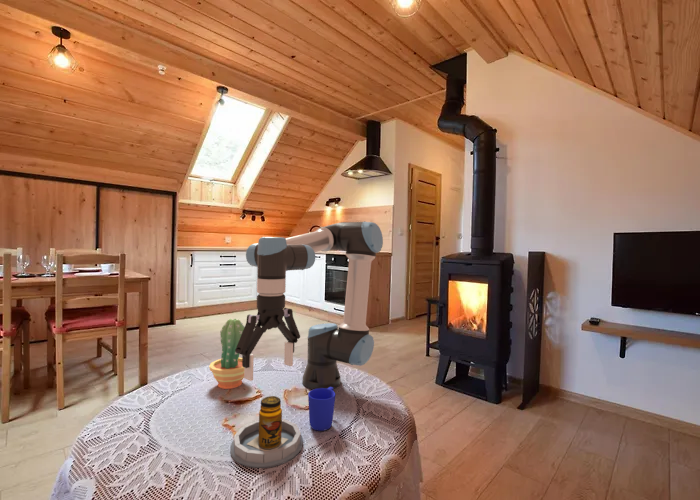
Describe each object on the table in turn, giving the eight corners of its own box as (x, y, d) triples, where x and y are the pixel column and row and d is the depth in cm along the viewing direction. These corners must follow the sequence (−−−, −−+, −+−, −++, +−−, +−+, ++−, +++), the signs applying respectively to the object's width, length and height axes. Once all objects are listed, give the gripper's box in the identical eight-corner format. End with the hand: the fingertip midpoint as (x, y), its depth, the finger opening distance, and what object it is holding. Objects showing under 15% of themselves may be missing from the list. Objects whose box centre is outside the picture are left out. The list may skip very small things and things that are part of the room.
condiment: (271, 454, 88) (272, 407, 88) (246, 444, 92) (247, 400, 92) (288, 440, 95) (289, 397, 95) (264, 431, 99) (265, 390, 99)
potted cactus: (259, 382, 136) (260, 319, 135) (226, 396, 123) (227, 326, 122) (233, 373, 144) (234, 314, 144) (199, 385, 131) (201, 320, 131)
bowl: (293, 422, 106) (293, 412, 106) (310, 458, 88) (311, 446, 88) (228, 433, 99) (228, 423, 99) (233, 475, 81) (233, 462, 81)
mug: (342, 416, 110) (343, 385, 110) (328, 436, 99) (329, 401, 99) (319, 412, 113) (320, 381, 113) (302, 430, 102) (303, 396, 101)
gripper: (295, 288, 105) (293, 357, 105) (221, 297, 85) (220, 382, 86) (313, 290, 100) (311, 362, 101) (239, 301, 81) (238, 390, 81)
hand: (269, 371), depth 93 cm, fingers open, 13 cm apart
